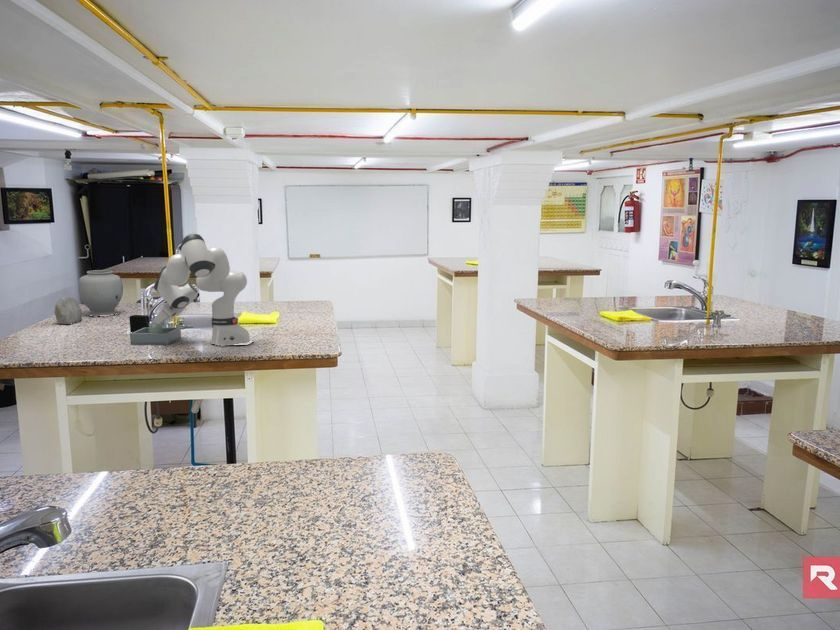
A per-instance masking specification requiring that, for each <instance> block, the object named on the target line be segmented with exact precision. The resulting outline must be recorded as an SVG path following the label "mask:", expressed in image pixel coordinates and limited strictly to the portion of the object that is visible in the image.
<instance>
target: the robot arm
mask: <svg viewBox="0 0 840 630" xmlns="http://www.w3.org/2000/svg"><path fill="white" fill-rule="evenodd" d="M178 250H179V253H176V254H172V255H171V257H169V258H168V260H167V263H166V265H165V266H163V267H162V269H161V270H160V272H159V275H158V277H157V279H156V281H155V282H154V285H153V286H154V287H153V288H154V290H155V291H156V293H158V294H159V295H160V296H161V298H162V299H163V301H165V302H166V303H165V304H164V305H163V306H162V307H161V310H160V311H159V312H158V314H156V316H155V317H154V319H153V322H155V323H154V324H153V325H152V327H153V328H156V327H157V325H159V324H161V323H162V326H163V325H164V324H165V323H167V322H168V321H171V320H173V319H174V318H175V317H178V316H180V315H181V314H182V313H183V312H184V310H185V309H186V308H187V307H188V306H189V305H191V304H192V302H193V301H194V300H195V299H196V298H197V296H198V295H199V293H198V289H199V291H203V292H208V293H217V292H218V293H223V294H222V296H221V297H218V298H216V299H215V300H214V301H212V303H211V313H212V316H211V328H212V332H211V340H210V343H211V344H210V345H212V344H215V345H214V346H216V345H218V346H217V347H220V346H219V345H234V344H239V343H247V342H249V341H250V339H251V337H250V334H249V331H248V330H247V329H246V328H245V327H244V326H242V325H240V324H239V318H238V317H236V316H235V301H236V299H237V297H238V295H239V294H240V293H241V292H242V291H243V290H244V289H245V288H246V286H247V284H248V279H247V275H245V273H244V272H242V271H235V270H231V267H230V263H229V259H228V256H227V254H226V252H225V250H223V249H222V248H220V247H217V246H213V247H210V248H209V249H208V248H207V245H206V242H205V239H204V238H203V237H202V235H200V234H198V233H191V234H187V235H186V236H185V237H183V238H182V241H181V244H180V245H179V246H178ZM190 275H192V276H194V277H196V278H195V284H196V286H197V288H198V289H196V287H195V286H194V285H192V284H191V283H187V282H188V280H189V278H190ZM179 286H182V287H181V288H180V287H179Z"/></svg>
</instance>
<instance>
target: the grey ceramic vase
mask: <svg viewBox="0 0 840 630" xmlns="http://www.w3.org/2000/svg"><path fill="white" fill-rule="evenodd" d="M77 284H78V285H77V286H78V288H77V289H78V294H79V299H80V300H81V302H82V303H83V305H84V306H85V307H86V308H87V309H89V311H90V312H89V313H88V315H92V316H100V315H111V314H116V311H115V309H116V308H117V306H118V305H119V304H120V302H121V300H122V297H123V292H124V291H123V290H124V289H123V281H122V278H121V276H120V275H117V274H114V272H113V270H110V269H109V270H108V269H95V270H88V271H86V275H85V274H84V275H82V276H81V277H80V278H79V279H78V283H77ZM88 315H87V316H88Z"/></svg>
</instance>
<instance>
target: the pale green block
mask: <svg viewBox="0 0 840 630" xmlns="http://www.w3.org/2000/svg"><path fill="white" fill-rule="evenodd" d="M154 323H155V322H154V321H153V322H149V333H163V332H162V328H163V325H162V323H161V324H159V325H157V327H156V328H153V327H152V325H153V324H154Z"/></svg>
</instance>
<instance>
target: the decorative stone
mask: <svg viewBox="0 0 840 630" xmlns="http://www.w3.org/2000/svg"><path fill="white" fill-rule="evenodd" d="M54 306H55V307H54V316H55V318H56V323H58V324H61V325H72V324H71V323H74V324H76V323H75V322H77V323H79V322H82V320H83V319H82V317H83V313H82V312H83V311H82V308H81V306H80V305H79V302H78V301H77V299H76V298H74V297H70V296H64V297H60V298H59V299H58V300H57V302H56V303H55V305H54ZM78 321H79V322H78Z"/></svg>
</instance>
